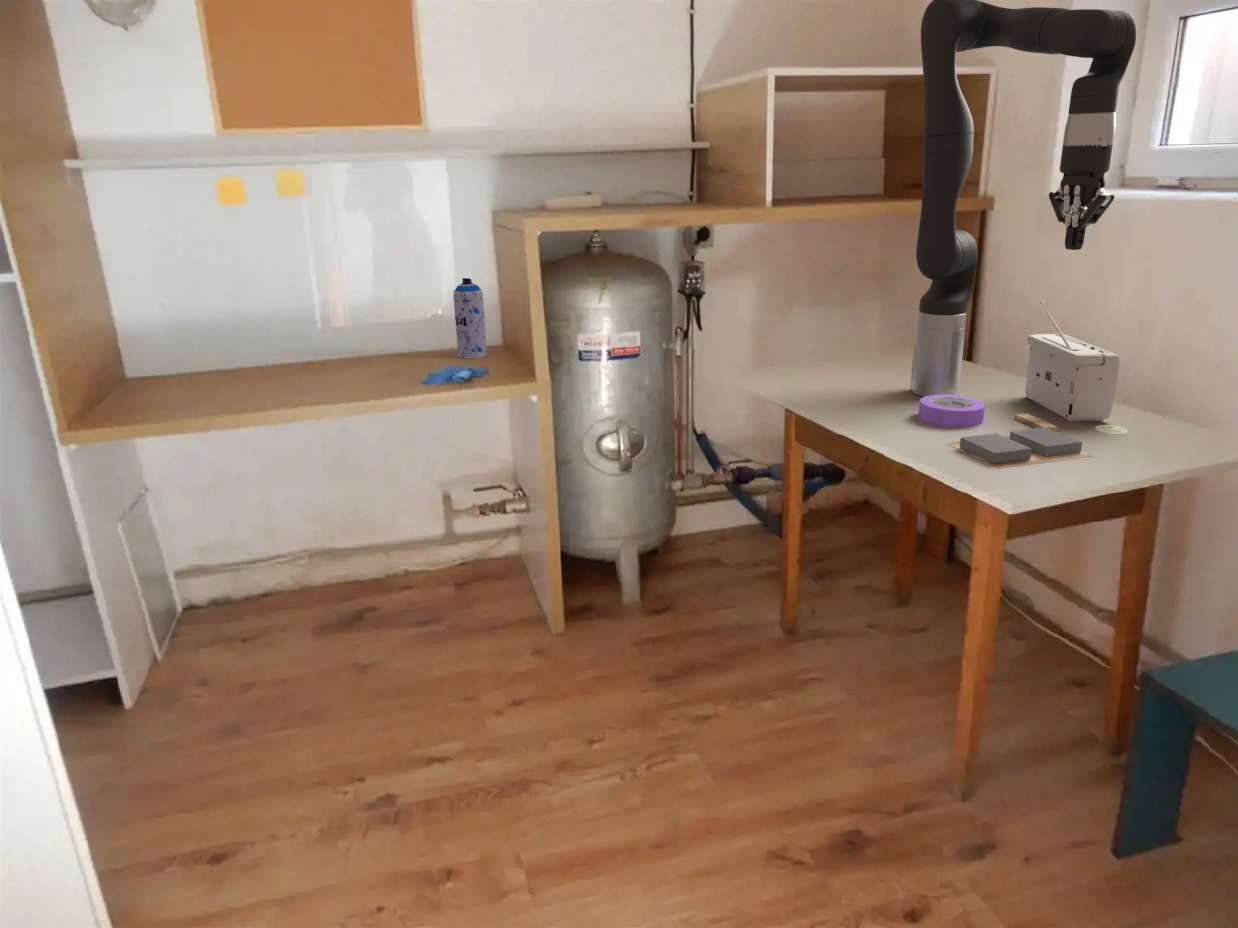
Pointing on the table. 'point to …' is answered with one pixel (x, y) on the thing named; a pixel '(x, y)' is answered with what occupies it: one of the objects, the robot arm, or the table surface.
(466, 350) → the aerosol can
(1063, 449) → the slate tile far
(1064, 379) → the stereo radio cassette player
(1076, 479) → the table surface
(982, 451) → the slate tile near
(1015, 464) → the cork mat
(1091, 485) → the table surface
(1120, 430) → the sign
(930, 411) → the masking tape
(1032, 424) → the wooden turner
